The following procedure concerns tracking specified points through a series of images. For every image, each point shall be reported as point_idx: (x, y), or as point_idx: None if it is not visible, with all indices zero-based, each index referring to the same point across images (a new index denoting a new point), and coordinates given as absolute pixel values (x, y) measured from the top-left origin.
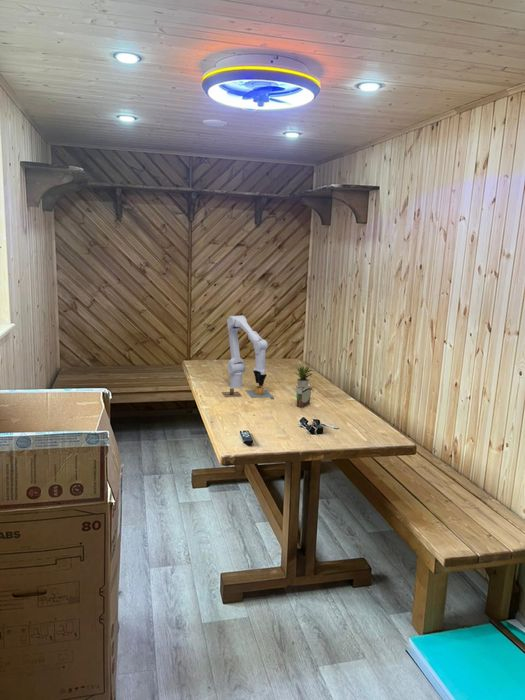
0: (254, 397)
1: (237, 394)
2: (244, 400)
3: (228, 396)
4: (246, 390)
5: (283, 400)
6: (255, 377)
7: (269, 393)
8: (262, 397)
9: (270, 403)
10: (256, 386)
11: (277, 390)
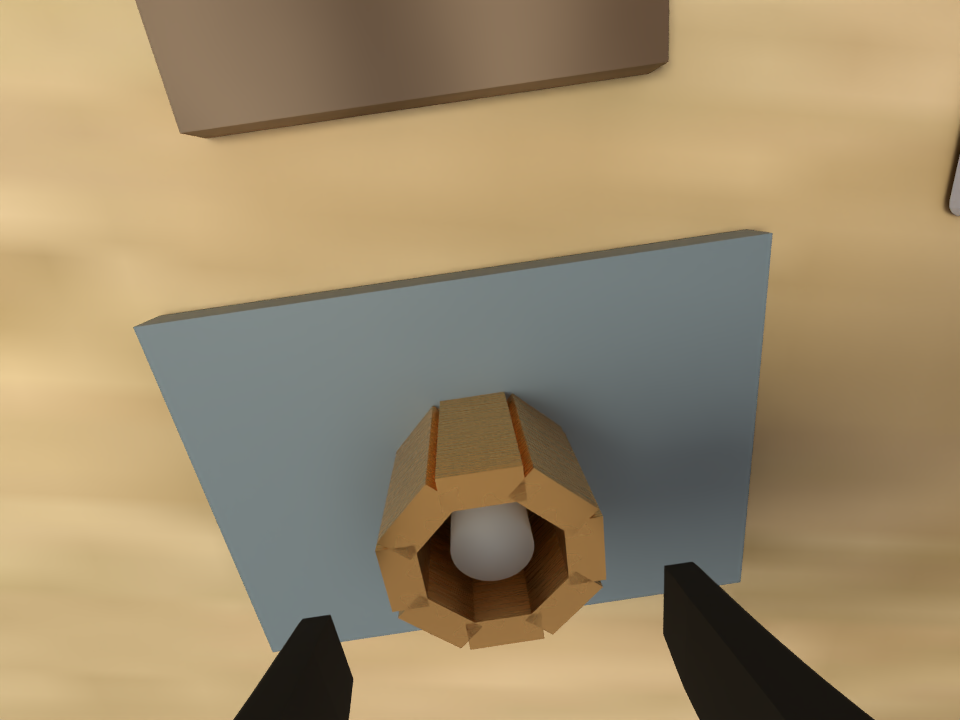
0: (192, 386)
1: (392, 13)
2: (93, 177)
3: None
4: (752, 265)
5: None
6: (778, 716)
7: None
8: (227, 511)
9: (38, 577)
10: (544, 517)
11: None
